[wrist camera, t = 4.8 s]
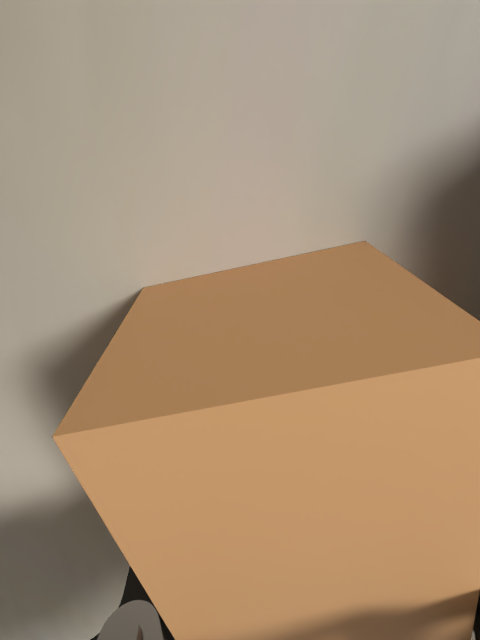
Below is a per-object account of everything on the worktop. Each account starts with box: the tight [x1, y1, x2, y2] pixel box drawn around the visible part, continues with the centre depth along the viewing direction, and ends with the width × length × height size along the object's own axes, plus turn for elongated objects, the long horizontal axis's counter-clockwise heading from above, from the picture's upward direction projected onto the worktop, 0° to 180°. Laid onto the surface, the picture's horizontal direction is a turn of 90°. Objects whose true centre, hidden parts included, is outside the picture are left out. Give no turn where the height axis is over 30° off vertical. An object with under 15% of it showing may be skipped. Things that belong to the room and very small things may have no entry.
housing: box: [52, 241, 480, 640], centre depth 9 cm, size 13×6×5 cm, turn 12°
